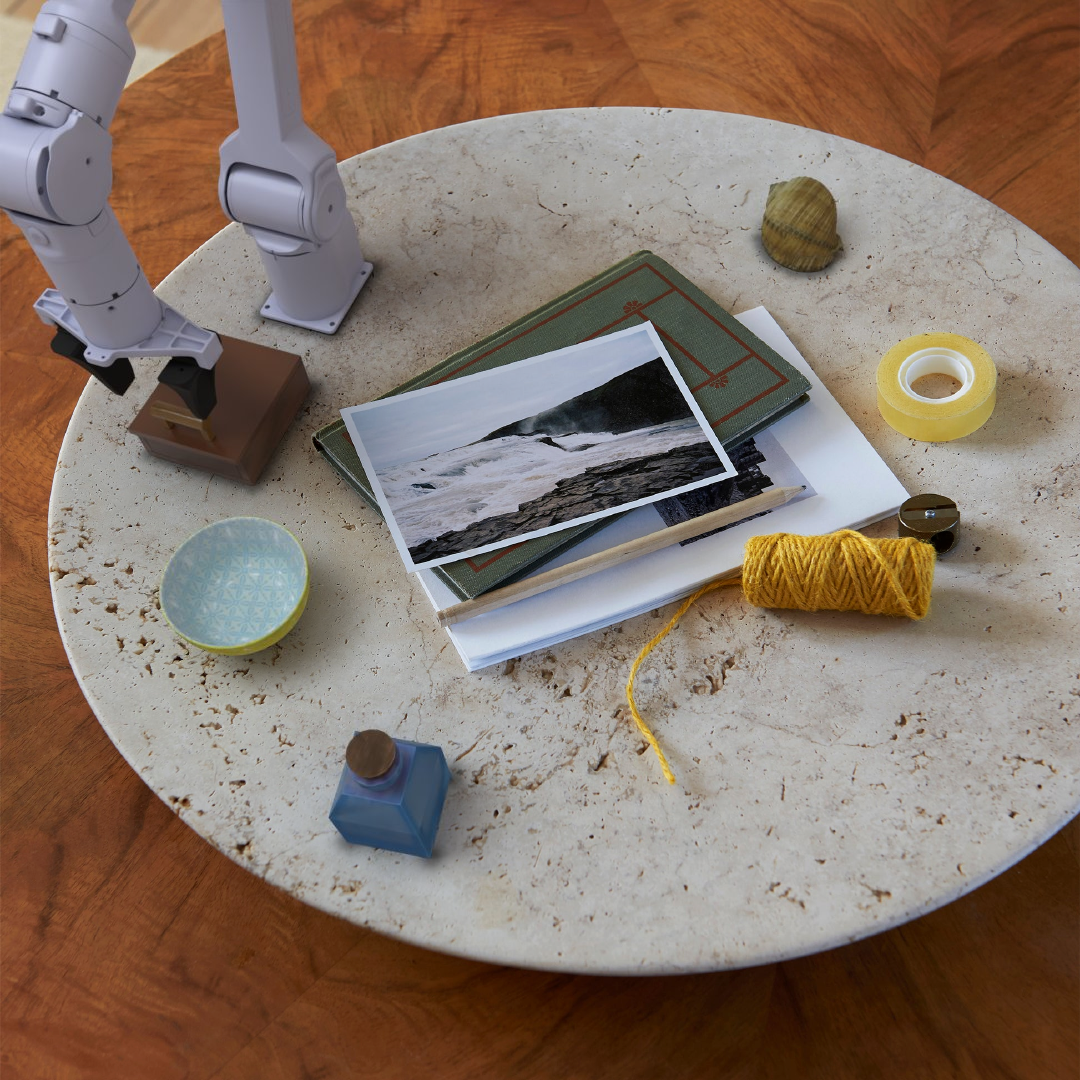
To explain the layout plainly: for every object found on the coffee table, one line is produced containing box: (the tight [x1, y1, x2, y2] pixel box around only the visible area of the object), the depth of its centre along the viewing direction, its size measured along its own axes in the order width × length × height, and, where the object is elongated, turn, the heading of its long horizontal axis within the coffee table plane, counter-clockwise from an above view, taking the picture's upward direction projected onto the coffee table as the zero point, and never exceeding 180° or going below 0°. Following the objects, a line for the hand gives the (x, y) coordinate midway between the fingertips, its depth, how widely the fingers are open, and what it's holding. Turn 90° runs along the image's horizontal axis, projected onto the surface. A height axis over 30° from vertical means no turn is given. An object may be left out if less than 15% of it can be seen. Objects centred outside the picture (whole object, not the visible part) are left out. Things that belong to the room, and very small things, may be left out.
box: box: [136, 360, 313, 487], centre depth 93 cm, size 12×11×4 cm
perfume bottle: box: [327, 728, 452, 860], centre depth 71 cm, size 6×6×12 cm
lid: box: [126, 333, 303, 465], centre depth 90 cm, size 12×11×4 cm
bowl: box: [158, 515, 311, 656], centre depth 82 cm, size 11×12×6 cm
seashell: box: [760, 176, 845, 273], centre depth 102 cm, size 10×7×8 cm
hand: (166, 398), depth 84 cm, fingers open, 7 cm apart
